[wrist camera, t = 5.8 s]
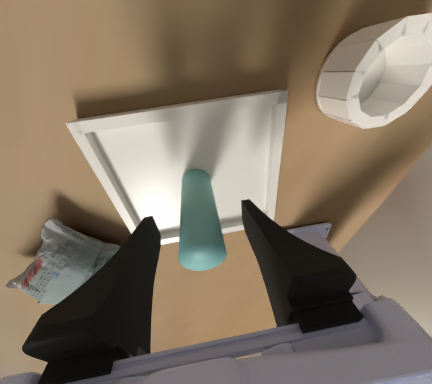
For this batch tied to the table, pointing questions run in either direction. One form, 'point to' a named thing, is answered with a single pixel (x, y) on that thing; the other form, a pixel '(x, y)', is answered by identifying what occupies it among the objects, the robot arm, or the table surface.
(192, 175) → the dowel
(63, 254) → the packaged food
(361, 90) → the bowl
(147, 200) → the tray
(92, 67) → the table surface
